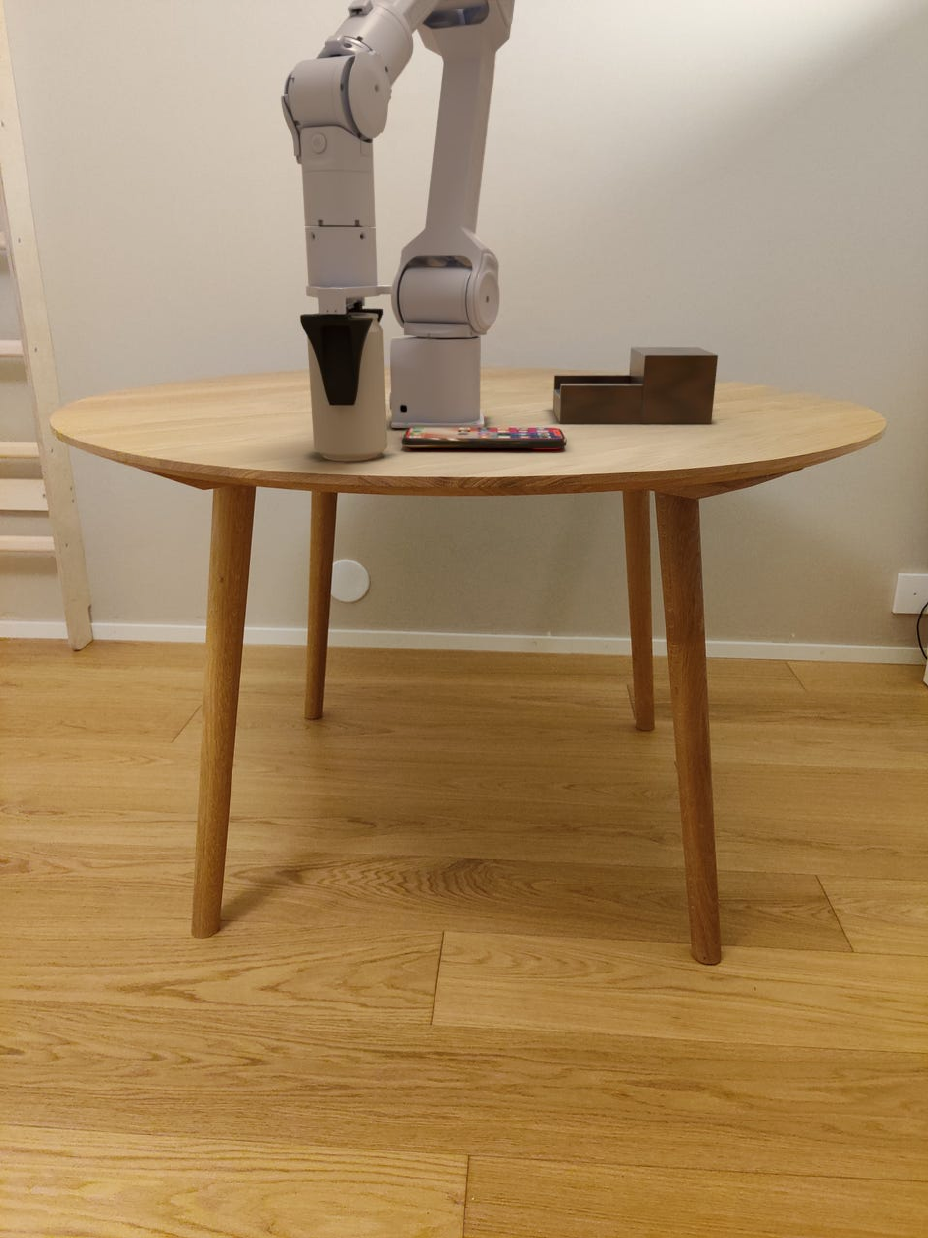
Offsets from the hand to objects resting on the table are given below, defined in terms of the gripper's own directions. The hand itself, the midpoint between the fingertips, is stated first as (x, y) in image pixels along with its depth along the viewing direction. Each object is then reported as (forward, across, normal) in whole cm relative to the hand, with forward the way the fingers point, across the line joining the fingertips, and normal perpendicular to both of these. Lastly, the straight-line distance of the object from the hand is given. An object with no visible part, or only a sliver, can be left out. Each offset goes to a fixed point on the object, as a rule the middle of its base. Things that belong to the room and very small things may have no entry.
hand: (347, 398), depth 80 cm
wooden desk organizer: (+5, +22, -28) cm, 36 cm away
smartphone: (+5, +5, -12) cm, 14 cm away
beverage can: (+5, 0, 0) cm, 5 cm away
